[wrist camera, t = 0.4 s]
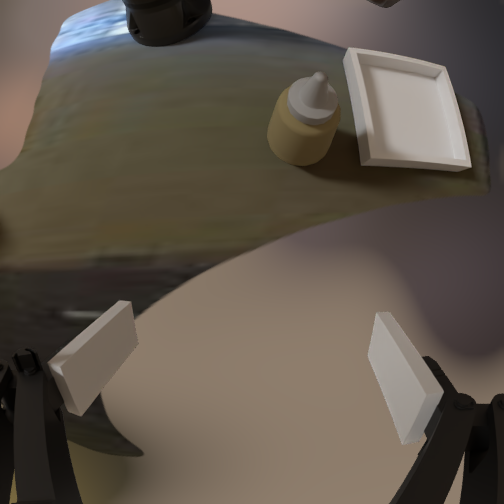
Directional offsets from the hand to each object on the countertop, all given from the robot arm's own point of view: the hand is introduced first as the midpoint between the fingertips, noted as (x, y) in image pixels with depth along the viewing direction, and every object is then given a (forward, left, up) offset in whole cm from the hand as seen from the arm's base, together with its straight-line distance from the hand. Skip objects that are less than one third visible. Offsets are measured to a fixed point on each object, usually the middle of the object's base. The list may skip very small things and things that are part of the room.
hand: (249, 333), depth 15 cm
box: (-23, +24, -24) cm, 41 cm away
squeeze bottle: (-17, +6, -24) cm, 30 cm away
